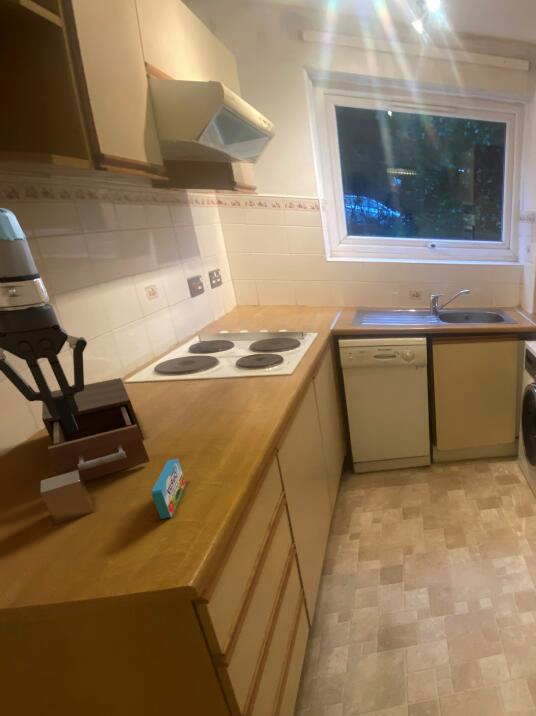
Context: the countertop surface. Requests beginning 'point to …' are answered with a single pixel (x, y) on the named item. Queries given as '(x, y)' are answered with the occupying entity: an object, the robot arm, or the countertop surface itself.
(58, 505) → the block
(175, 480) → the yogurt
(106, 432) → the drawer
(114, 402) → the cabinet
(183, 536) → the countertop surface
